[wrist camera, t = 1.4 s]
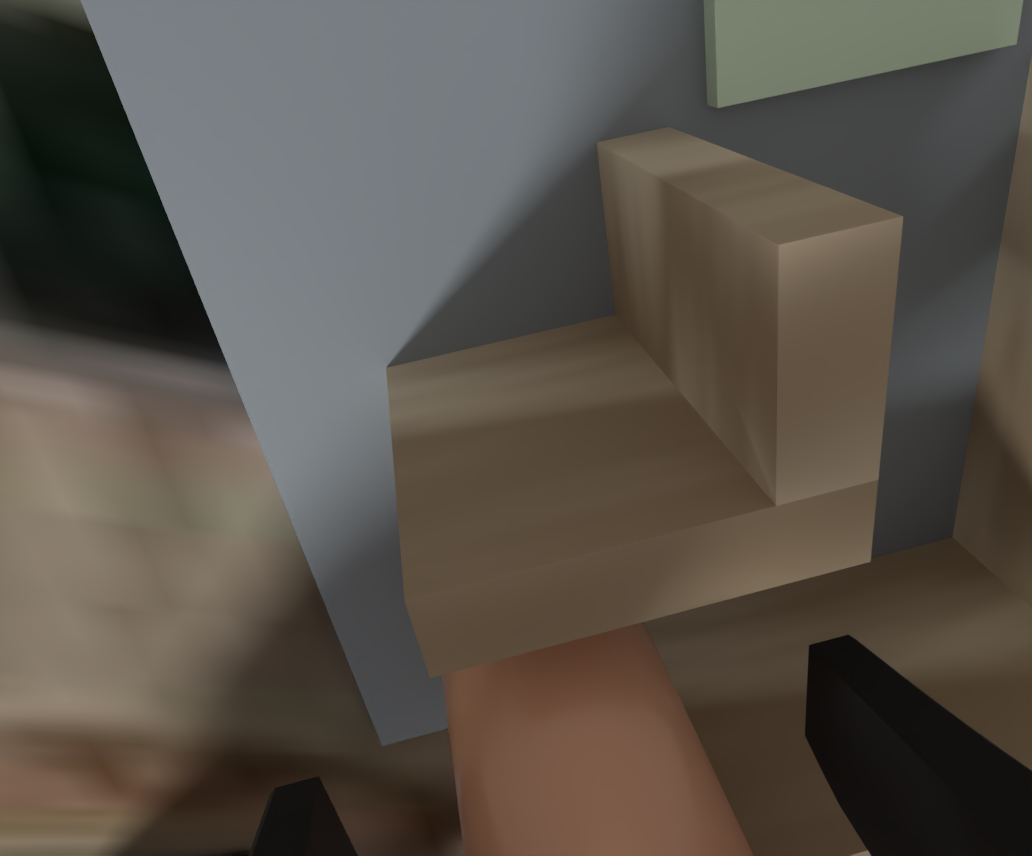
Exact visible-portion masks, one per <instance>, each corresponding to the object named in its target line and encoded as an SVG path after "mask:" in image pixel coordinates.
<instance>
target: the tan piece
mask: <svg viewBox="0 0 1032 856" xmlns="http://www.w3.org/2000/svg"><path fill="white" fill-rule="evenodd" d="M597 152H598V161H599V170H600V180H601V189H602V198H603V207H604V217H605V226H606V235H607V244H608V254H609V263H610V272H611V282H612V291H613V300H614V309H615V315H611V316H607V317H602V318H598V319H594V320H590V321H585V322H581V323H577V324H572V325H568V326H564V327H559V328H555V329H551V330H547V331H542V332H538V333H534V334H529V335H525V336H521V337H516V338H512V339H508V340H504V341H499V342H495V343H491V344H486V345H482V346H478V347H473V348H469V349H465V350H461V351H456V352H452V353H448V354H443V355H439V356H435V357H430V358H426V359H422V360H418V361H413V362H409V363H405V364H400V365H396V366H392V367H387V368H386V376H387V388H388V401H389V413H390V426H391V438H392V450H393V463H394V475H395V488H396V500H397V513H398V525H399V538H400V550H401V563H402V575H403V588H404V600H405V604H406V607H407V610H408V613H409V616H410V619H411V622H412V625H413V628H414V631H415V634H416V637H417V640H418V643H419V646H420V649H421V653H422V656H423V659H424V662H425V665H426V668H427V671H428V674H429V677H430V678H433V677H437V676H441V675H444V674H448V673H452V672H456V671H460V670H463V669H467V668H471V667H475V666H478V665H482V664H486V663H490V662H494V661H497V660H501V659H505V658H509V657H512V656H516V655H520V654H524V653H528V652H531V651H535V650H539V649H543V648H546V647H550V646H554V645H558V644H562V643H565V642H569V641H573V640H577V639H580V638H584V637H588V636H592V635H596V634H599V633H603V632H607V631H611V630H615V629H618V628H622V627H626V626H630V625H633V624H637V623H641V622H645V624H646V626H647V628H648V630H649V632H650V635H651V637H652V639H653V641H654V643H655V645H656V647H657V650H658V652H659V654H660V656H661V658H662V660H663V662H664V665H665V667H666V669H667V671H668V673H669V675H670V677H671V680H672V682H673V684H674V686H675V688H676V690H677V692H678V695H679V697H680V699H681V701H682V703H683V705H684V707H685V710H686V712H687V714H688V716H689V718H690V720H691V722H692V725H693V727H694V729H695V731H696V733H697V735H698V738H699V740H700V742H701V744H702V746H703V748H704V750H705V753H706V755H707V757H708V759H709V761H710V763H711V765H712V768H713V770H714V772H715V774H716V776H717V778H718V780H719V783H720V785H721V787H722V789H723V791H724V793H725V795H726V798H727V800H728V802H729V804H730V806H731V808H732V810H733V813H734V815H735V817H736V819H737V821H738V823H739V825H740V828H741V830H742V832H743V834H744V836H745V838H746V840H747V843H748V845H749V847H750V849H751V851H752V853H753V855H754V856H871V855H870V853H869V852H868V850H867V848H866V847H865V845H864V844H863V842H862V840H861V839H860V837H859V836H858V834H857V833H856V831H855V829H854V828H853V826H852V825H851V823H850V821H849V820H848V818H847V817H846V815H845V813H844V812H843V810H842V809H841V807H840V805H839V803H838V802H837V800H836V798H835V796H834V794H833V792H832V790H831V788H830V786H829V784H828V782H827V780H826V778H825V776H824V774H823V772H822V770H821V768H820V766H819V764H818V762H817V760H816V758H815V756H814V753H813V751H812V749H811V747H810V745H809V743H808V741H807V739H806V737H805V718H806V697H807V676H808V654H809V645H811V644H815V643H818V642H822V641H826V640H830V639H833V638H837V637H841V636H845V635H850V636H852V637H853V638H855V639H856V640H858V641H859V642H860V643H861V644H863V645H864V646H865V647H866V648H868V649H869V650H870V651H872V652H873V653H874V654H875V655H877V656H878V657H879V658H881V659H882V660H883V661H884V662H886V663H887V664H888V665H889V666H891V667H892V668H893V669H895V670H896V671H897V672H898V673H900V674H901V675H902V676H904V677H905V678H906V679H907V680H909V681H910V682H911V683H913V684H914V685H915V686H917V687H918V688H919V689H920V690H922V691H923V692H924V693H926V694H927V695H928V696H930V697H931V698H932V699H934V700H935V701H936V702H938V703H939V704H940V705H942V706H943V707H944V708H946V709H947V710H948V711H950V712H951V713H952V714H954V715H955V716H956V717H958V718H959V719H960V720H962V721H963V722H964V723H966V724H967V725H969V726H970V727H971V728H973V729H974V730H976V731H977V732H978V733H980V734H981V735H983V736H984V737H985V738H987V739H988V740H989V741H991V742H992V743H994V744H995V745H996V746H998V747H999V748H1001V749H1002V750H1003V751H1005V752H1006V753H1008V754H1009V755H1010V756H1012V757H1013V758H1015V759H1016V760H1017V761H1019V762H1020V763H1022V764H1023V765H1025V766H1026V767H1028V768H1029V769H1031V770H1032V55H1031V61H1030V67H1029V73H1028V80H1027V86H1026V92H1025V98H1024V104H1023V110H1022V116H1021V122H1020V128H1019V134H1018V140H1017V147H1016V153H1015V159H1014V165H1013V171H1012V177H1011V183H1010V189H1009V195H1008V201H1007V208H1006V214H1005V220H1004V226H1003V232H1002V238H1001V244H1000V250H999V256H998V262H997V268H996V275H995V281H994V287H993V293H992V299H991V305H990V311H989V317H988V323H987V329H986V335H985V342H984V348H983V354H982V360H981V366H980V372H979V378H978V384H977V390H976V396H975V402H974V409H973V415H972V421H971V427H970V433H969V439H968V445H967V451H966V457H965V463H964V469H963V476H962V482H961V488H960V494H959V500H958V506H957V512H956V518H955V524H954V530H953V536H952V538H948V539H944V540H940V541H936V542H933V543H929V544H925V545H921V546H917V547H914V548H910V549H906V550H902V551H899V552H895V553H891V554H887V555H883V556H880V557H876V558H872V559H871V551H872V541H873V530H874V520H875V509H876V499H877V488H878V478H879V467H880V457H881V446H882V436H883V425H884V415H885V404H886V394H887V383H888V373H889V362H890V352H891V341H892V331H893V320H894V310H895V299H896V289H897V278H898V268H899V257H900V247H901V236H902V226H903V216H901V215H898V214H896V213H893V212H890V211H888V210H885V209H883V208H880V207H877V206H875V205H872V204H869V203H867V202H864V201H862V200H859V199H856V198H854V197H851V196H849V195H846V194H843V193H841V192H838V191H835V190H833V189H830V188H828V187H825V186H822V185H820V184H817V183H815V182H812V181H809V180H807V179H804V178H801V177H799V176H796V175H794V174H791V173H788V172H786V171H783V170H781V169H778V168H775V167H773V166H770V165H767V164H765V163H762V162H760V161H757V160H754V159H752V158H749V157H746V156H744V155H741V154H739V153H736V152H733V151H731V150H728V149H726V148H723V147H720V146H718V145H715V144H712V143H710V142H707V141H705V140H702V139H699V138H697V137H694V136H692V135H689V134H686V133H684V132H681V131H678V130H676V129H673V128H671V127H666V128H661V129H657V130H652V131H647V132H643V133H638V134H633V135H629V136H624V137H619V138H615V139H610V140H605V141H601V142H597Z"/></svg>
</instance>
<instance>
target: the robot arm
mask: <svg viewBox="0 0 1032 856" xmlns="http://www.w3.org/2000/svg"><path fill="white" fill-rule="evenodd" d="M805 737H806V739H807V741H808V743H809V745H810V747H811V749H812V751H813V753H814V756H815V758H816V760H817V762H818V764H819V766H820V768H821V770H822V772H823V774H824V776H825V778H826V780H827V782H828V784H829V786H830V788H831V790H832V792H833V794H834V796H835V798H836V800H837V802H838V803H839V805H840V807H841V809H842V810H843V812H844V813H845V815H846V817H847V818H848V820H849V821H850V823H851V825H852V826H853V828H854V829H855V831H856V833H857V834H858V836H859V837H860V839H861V840H862V842H863V844H864V845H865V847H866V848H867V850H868V852H869V853H870V855H871V856H1032V770H1031V769H1029V768H1028V767H1026V766H1025V765H1023V764H1022V763H1020V762H1019V761H1017V760H1016V759H1015V758H1013V757H1012V756H1010V755H1009V754H1008V753H1006V752H1005V751H1003V750H1002V749H1001V748H999V747H998V746H996V745H995V744H994V743H992V742H991V741H989V740H988V739H987V738H985V737H984V736H983V735H981V734H980V733H978V732H977V731H976V730H974V729H973V728H971V727H970V726H969V725H967V724H966V723H964V722H963V721H962V720H960V719H959V718H958V717H956V716H955V715H954V714H952V713H951V712H950V711H948V710H947V709H946V708H944V707H943V706H942V705H940V704H939V703H938V702H936V701H935V700H934V699H932V698H931V697H930V696H928V695H927V694H926V693H924V692H923V691H922V690H920V689H919V688H918V687H917V686H915V685H914V684H913V683H911V682H910V681H909V680H907V679H906V678H905V677H904V676H902V675H901V674H900V673H898V672H897V671H896V670H895V669H893V668H892V667H891V666H889V665H888V664H887V663H886V662H884V661H883V660H882V659H881V658H879V657H878V656H877V655H875V654H874V653H873V652H872V651H870V650H869V649H868V648H866V647H865V646H864V645H863V644H861V643H860V642H859V641H858V640H856V639H855V638H853V637H852V636H850V635H845V636H841V637H837V638H833V639H830V640H826V641H822V642H818V643H815V644H811V645H809V654H808V676H807V697H806V718H805ZM249 856H358V855H357V853H356V851H355V849H354V847H353V845H352V843H351V841H350V839H349V837H348V835H347V833H346V831H345V829H344V827H343V825H342V823H341V821H340V819H339V817H338V814H337V812H336V810H335V808H334V806H333V804H332V802H331V800H330V798H329V796H328V794H327V792H326V790H325V788H324V786H323V784H322V782H321V780H320V778H319V776H318V777H315V778H311V779H307V780H303V781H300V782H296V783H292V784H288V785H285V786H281V787H277V788H275V789H274V791H273V792H272V793H271V794H270V797H269V799H268V802H267V805H266V808H265V811H264V814H263V817H262V820H261V823H260V825H259V828H258V831H257V834H256V837H255V839H254V842H253V845H252V848H251V850H250V853H249Z"/></svg>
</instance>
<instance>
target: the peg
mask: <svg viewBox="0 0 1032 856" xmlns="http://www.w3.org/2000/svg"><path fill="white" fill-rule="evenodd" d="M442 682H443V690H444V698H445V706H446V713H447V721H448V729H449V737H450V745H451V753H452V761H453V769H454V777H455V785H456V793H457V801H458V809H459V817H460V825H461V833H462V841H463V849H464V856H754V855H753V853H752V851H751V849H750V847H749V845H748V843H747V840H746V838H745V836H744V834H743V832H742V830H741V828H740V825H739V823H738V821H737V819H736V817H735V815H734V813H733V810H732V808H731V806H730V804H729V802H728V800H727V798H726V795H725V793H724V791H723V789H722V787H721V785H720V783H719V780H718V778H717V776H716V774H715V772H714V770H713V768H712V765H711V763H710V761H709V759H708V757H707V755H706V753H705V750H704V748H703V746H702V744H701V742H700V740H699V738H698V735H697V733H696V731H695V729H694V727H693V725H692V722H691V720H690V718H689V716H688V714H687V712H686V710H685V707H684V705H683V703H682V701H681V699H680V697H679V695H678V692H677V690H676V688H675V686H674V684H673V682H672V680H671V677H670V675H669V673H668V671H667V669H666V667H665V665H664V662H663V660H662V658H661V656H660V654H659V652H658V650H657V647H656V645H655V643H654V641H653V639H652V637H651V635H650V632H649V630H648V628H647V626H646V624H645V622H641V623H637V624H633V625H630V626H626V627H622V628H618V629H615V630H611V631H607V632H603V633H599V634H596V635H592V636H588V637H584V638H580V639H577V640H573V641H569V642H565V643H562V644H558V645H554V646H550V647H546V648H543V649H539V650H535V651H531V652H528V653H524V654H520V655H516V656H512V657H509V658H505V659H501V660H497V661H494V662H490V663H486V664H482V665H478V666H475V667H471V668H467V669H463V670H460V671H456V672H452V673H448V674H444V675H442Z"/></svg>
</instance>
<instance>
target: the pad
mask: <svg viewBox="0 0 1032 856" xmlns="http://www.w3.org/2000/svg"><path fill="white" fill-rule="evenodd" d="M1022 6H1023V0H704V26H705V54H706V83H707V105H708V106H712V107H715V108H721V107H725V106H730V105H735V104H739V103H744V102H749V101H753V100H758V99H763V98H767V97H772V96H777V95H782V94H786V93H791V92H796V91H800V90H805V89H810V88H814V87H819V86H824V85H828V84H833V83H838V82H842V81H847V80H852V79H856V78H861V77H866V76H870V75H875V74H880V73H884V72H889V71H894V70H899V69H903V68H908V67H913V66H917V65H922V64H927V63H931V62H936V61H941V60H945V59H950V58H955V57H959V56H964V55H969V54H973V53H978V52H983V51H987V50H992V49H997V48H1002V47H1006V46H1011V45H1016V44H1017V38H1018V32H1019V25H1020V19H1021V12H1022Z"/></svg>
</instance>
